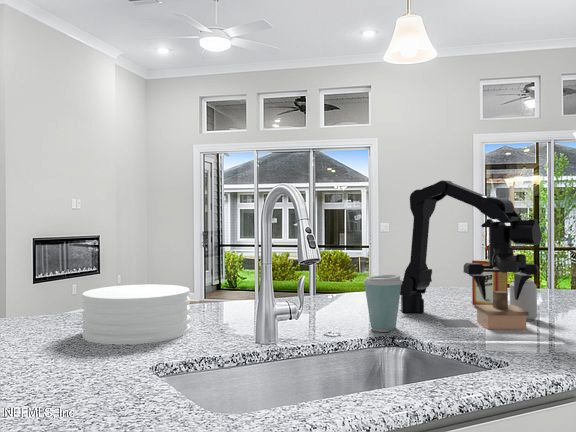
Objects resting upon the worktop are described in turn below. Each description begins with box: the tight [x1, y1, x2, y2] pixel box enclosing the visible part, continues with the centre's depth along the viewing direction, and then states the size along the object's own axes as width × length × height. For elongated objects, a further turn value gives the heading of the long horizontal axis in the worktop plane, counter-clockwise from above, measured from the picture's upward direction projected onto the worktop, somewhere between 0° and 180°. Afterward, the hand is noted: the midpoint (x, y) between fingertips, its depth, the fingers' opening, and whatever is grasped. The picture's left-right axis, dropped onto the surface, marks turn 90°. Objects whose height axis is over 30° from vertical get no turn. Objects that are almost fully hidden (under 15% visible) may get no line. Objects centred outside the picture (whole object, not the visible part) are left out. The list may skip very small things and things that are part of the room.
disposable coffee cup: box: [363, 274, 403, 333], centre depth 142 cm, size 11×11×15 cm
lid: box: [473, 291, 529, 316], centre depth 143 cm, size 11×11×6 cm
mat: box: [437, 318, 479, 328], centre depth 147 cm, size 9×11×1 cm
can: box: [509, 278, 538, 322], centre depth 155 cm, size 8×8×12 cm
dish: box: [476, 309, 527, 331], centre depth 143 cm, size 10×10×4 cm
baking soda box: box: [471, 259, 509, 306], centre depth 181 cm, size 10×6×16 cm
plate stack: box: [81, 283, 191, 346], centre depth 140 cm, size 28×28×12 cm
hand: (500, 299), depth 143 cm, fingers open, 8 cm apart
